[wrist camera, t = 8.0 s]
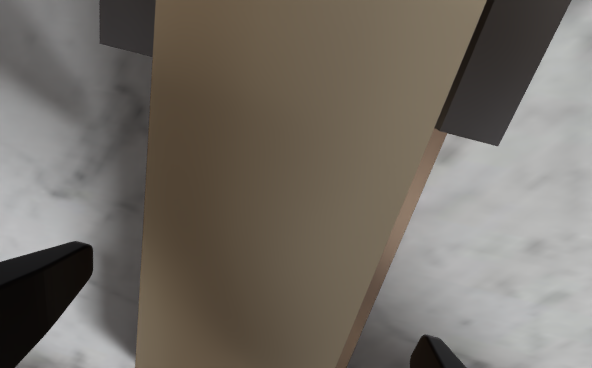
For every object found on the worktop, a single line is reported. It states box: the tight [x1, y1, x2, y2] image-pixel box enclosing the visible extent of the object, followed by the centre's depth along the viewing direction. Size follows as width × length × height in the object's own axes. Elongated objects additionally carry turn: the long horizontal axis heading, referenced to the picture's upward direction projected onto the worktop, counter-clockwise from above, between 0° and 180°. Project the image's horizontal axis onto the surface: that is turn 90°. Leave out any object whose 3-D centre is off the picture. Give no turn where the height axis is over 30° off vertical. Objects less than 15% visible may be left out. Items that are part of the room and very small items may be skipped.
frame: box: [100, 0, 571, 368], centre depth 9 cm, size 22×8×4 cm, turn 167°
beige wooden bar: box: [135, 0, 487, 368], centre depth 8 cm, size 4×16×5 cm, turn 167°
